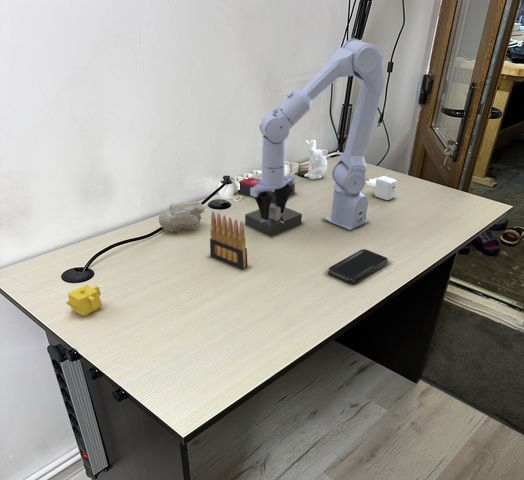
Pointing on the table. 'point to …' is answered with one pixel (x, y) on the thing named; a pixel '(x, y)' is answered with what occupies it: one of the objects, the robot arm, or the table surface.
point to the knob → (274, 212)
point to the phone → (357, 266)
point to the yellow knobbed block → (84, 299)
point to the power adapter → (383, 187)
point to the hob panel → (273, 221)
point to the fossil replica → (181, 216)
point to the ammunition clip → (228, 242)
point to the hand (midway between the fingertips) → (272, 215)
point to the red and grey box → (253, 181)
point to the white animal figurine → (316, 161)
